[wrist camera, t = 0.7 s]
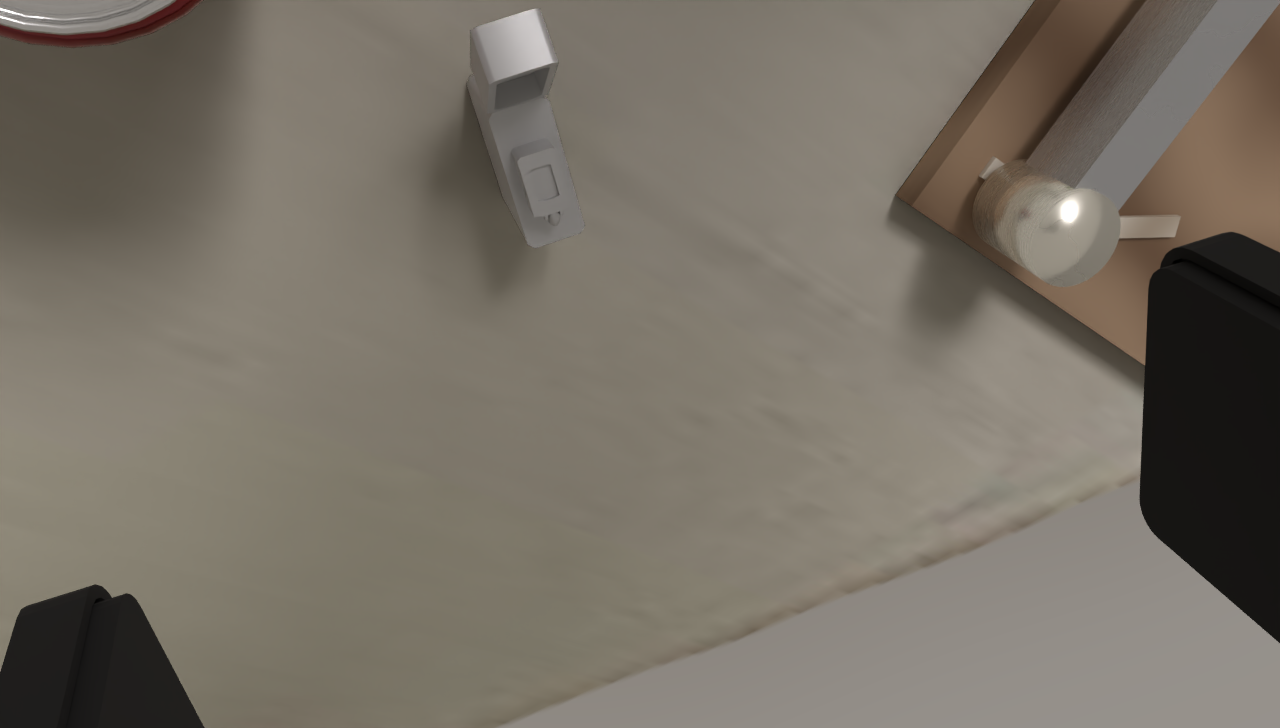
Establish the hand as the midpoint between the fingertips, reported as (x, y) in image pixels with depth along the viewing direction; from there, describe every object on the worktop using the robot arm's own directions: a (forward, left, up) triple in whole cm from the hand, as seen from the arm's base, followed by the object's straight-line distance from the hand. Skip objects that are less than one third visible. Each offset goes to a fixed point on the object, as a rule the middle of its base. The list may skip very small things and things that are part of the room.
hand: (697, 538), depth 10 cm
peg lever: (-12, +21, -25) cm, 34 cm away
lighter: (+1, +3, -27) cm, 27 cm away
